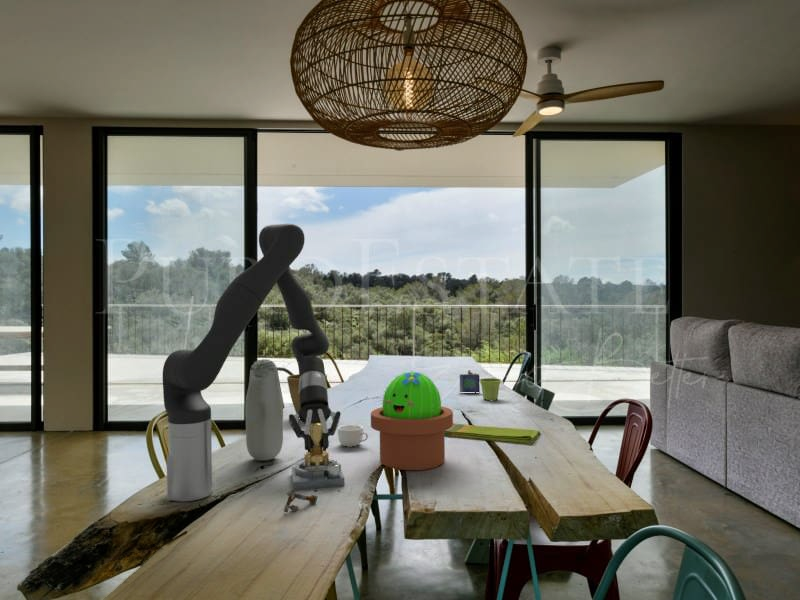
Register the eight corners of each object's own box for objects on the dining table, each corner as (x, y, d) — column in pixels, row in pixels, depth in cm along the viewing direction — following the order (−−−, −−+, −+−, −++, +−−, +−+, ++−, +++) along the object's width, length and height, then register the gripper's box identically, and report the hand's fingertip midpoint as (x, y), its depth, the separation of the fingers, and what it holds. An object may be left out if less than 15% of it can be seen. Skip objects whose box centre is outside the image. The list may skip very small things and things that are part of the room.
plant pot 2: (503, 401, 232) (502, 381, 232) (481, 401, 232) (480, 381, 232) (499, 397, 242) (499, 378, 242) (478, 397, 242) (478, 378, 242)
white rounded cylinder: (243, 457, 154) (242, 358, 154) (280, 452, 158) (278, 356, 158) (248, 467, 145) (247, 362, 145) (286, 462, 149) (285, 360, 149)
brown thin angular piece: (278, 510, 113) (285, 487, 115) (306, 514, 119) (313, 493, 120) (284, 512, 112) (290, 489, 113) (312, 517, 117) (318, 495, 119)
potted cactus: (395, 446, 163) (394, 363, 163) (464, 455, 153) (463, 367, 153) (356, 467, 144) (355, 372, 144) (432, 479, 134) (431, 377, 134)
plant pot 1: (323, 412, 214) (323, 372, 214) (331, 420, 200) (330, 377, 200) (285, 415, 210) (284, 374, 210) (290, 424, 195) (289, 379, 195)
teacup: (332, 446, 164) (332, 429, 164) (346, 440, 171) (346, 423, 171) (360, 450, 160) (360, 432, 160) (374, 444, 167) (373, 426, 167)
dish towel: (437, 425, 192) (437, 416, 192) (540, 434, 177) (540, 425, 177) (421, 435, 178) (421, 426, 178) (531, 446, 163) (531, 436, 163)
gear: (305, 467, 133) (304, 427, 133) (304, 460, 139) (303, 421, 139) (329, 465, 134) (328, 425, 134) (327, 458, 140) (326, 420, 140)
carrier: (293, 490, 127) (292, 466, 127) (291, 472, 140) (291, 450, 140) (344, 485, 130) (344, 462, 130) (338, 468, 143) (338, 447, 143)
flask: (459, 393, 253) (459, 370, 253) (459, 392, 256) (459, 369, 256) (479, 393, 252) (479, 370, 252) (479, 392, 255) (479, 369, 255)
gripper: (286, 385, 142) (288, 444, 130) (340, 382, 145) (346, 440, 133) (286, 401, 147) (288, 459, 135) (338, 398, 150) (344, 455, 139)
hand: (317, 449), depth 134 cm, fingers closed on gear, 3 cm apart
